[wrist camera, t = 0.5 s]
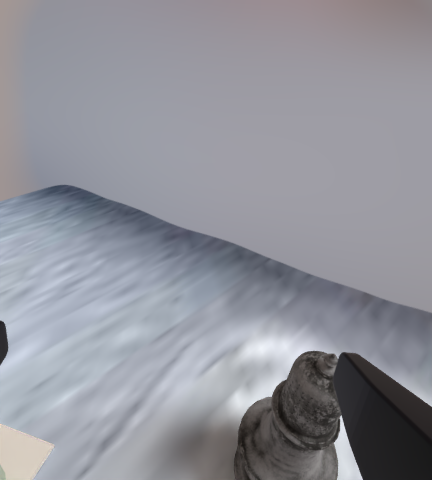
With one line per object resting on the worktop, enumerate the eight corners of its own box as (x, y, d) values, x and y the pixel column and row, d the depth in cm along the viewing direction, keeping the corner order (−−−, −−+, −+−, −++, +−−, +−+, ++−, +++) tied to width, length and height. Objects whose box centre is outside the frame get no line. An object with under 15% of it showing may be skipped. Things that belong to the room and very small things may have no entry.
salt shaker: (233, 531, 17) (284, 423, 10) (226, 422, 22) (258, 302, 15) (333, 531, 17) (440, 428, 11) (304, 424, 22) (367, 309, 16)
